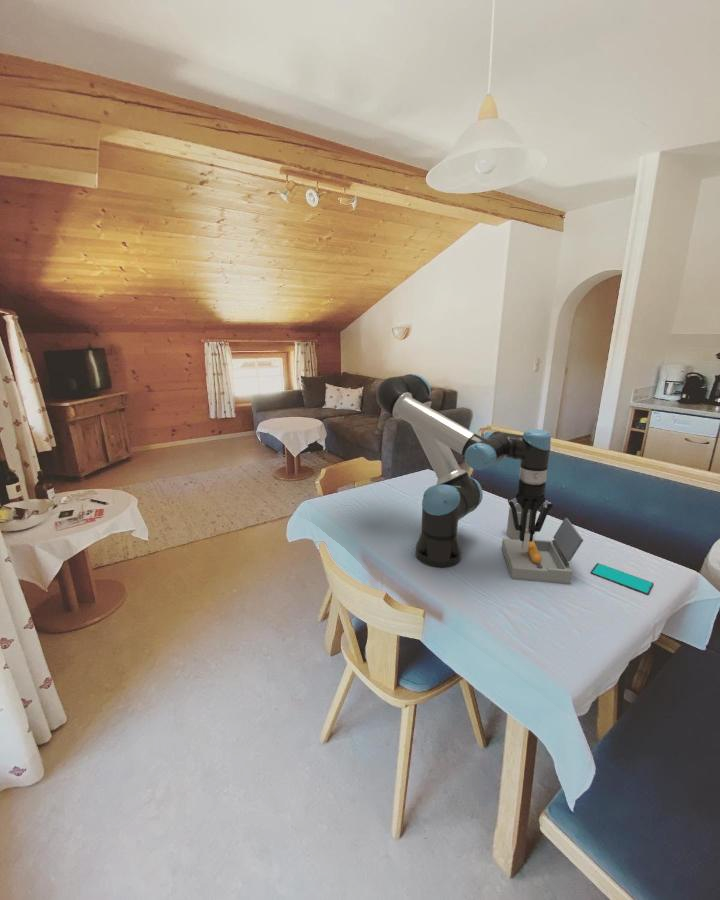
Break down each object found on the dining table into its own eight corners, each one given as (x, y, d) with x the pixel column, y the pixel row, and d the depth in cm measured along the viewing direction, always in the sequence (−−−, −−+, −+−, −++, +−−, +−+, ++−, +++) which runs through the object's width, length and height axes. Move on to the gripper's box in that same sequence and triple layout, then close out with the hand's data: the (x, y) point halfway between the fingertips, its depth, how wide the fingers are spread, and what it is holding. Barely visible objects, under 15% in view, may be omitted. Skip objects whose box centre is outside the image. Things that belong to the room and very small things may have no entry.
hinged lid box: (511, 578, 119) (513, 566, 118) (501, 547, 136) (502, 536, 135) (570, 583, 117) (572, 571, 115) (552, 551, 134) (554, 540, 132)
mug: (519, 543, 139) (523, 515, 136) (501, 533, 146) (504, 506, 143) (542, 535, 144) (546, 508, 141) (523, 525, 151) (527, 499, 148)
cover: (580, 539, 114) (585, 540, 114) (565, 517, 127) (569, 518, 127) (564, 565, 117) (568, 566, 117) (550, 541, 130) (554, 542, 130)
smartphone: (597, 562, 126) (653, 582, 116) (596, 565, 126) (653, 585, 116) (590, 572, 121) (648, 594, 111) (589, 574, 122) (647, 596, 111)
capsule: (533, 555, 119) (543, 557, 119) (524, 536, 130) (534, 537, 130) (531, 564, 120) (541, 565, 120) (522, 543, 131) (531, 545, 131)
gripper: (512, 484, 116) (505, 554, 123) (559, 486, 114) (549, 557, 120) (507, 475, 123) (501, 542, 130) (551, 477, 121) (543, 545, 128)
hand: (524, 549), depth 125 cm, fingers closed
